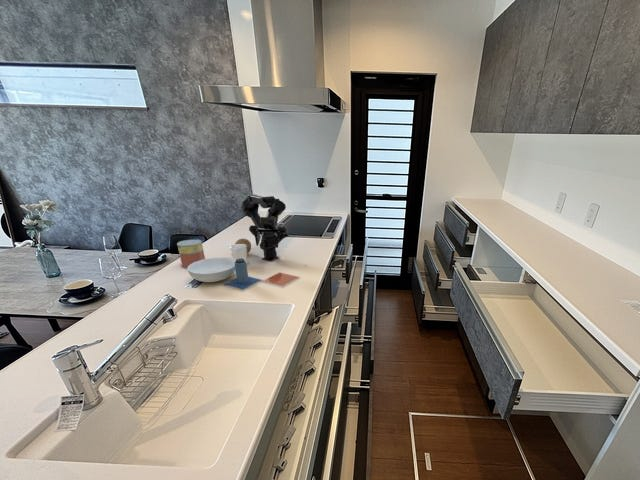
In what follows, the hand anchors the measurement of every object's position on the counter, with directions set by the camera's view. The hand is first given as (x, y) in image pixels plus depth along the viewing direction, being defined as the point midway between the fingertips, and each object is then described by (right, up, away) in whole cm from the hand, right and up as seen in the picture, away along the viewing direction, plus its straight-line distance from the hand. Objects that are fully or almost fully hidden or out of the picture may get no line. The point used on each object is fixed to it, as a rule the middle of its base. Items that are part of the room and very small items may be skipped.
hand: (266, 246), depth 150 cm
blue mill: (-8, -18, -9) cm, 21 cm away
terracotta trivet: (+9, -17, -4) cm, 19 cm away
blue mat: (-8, -18, -8) cm, 22 cm away
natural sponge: (-22, -3, +27) cm, 35 cm away
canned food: (-43, -9, +12) cm, 45 cm away
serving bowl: (-23, -16, -4) cm, 28 cm away
